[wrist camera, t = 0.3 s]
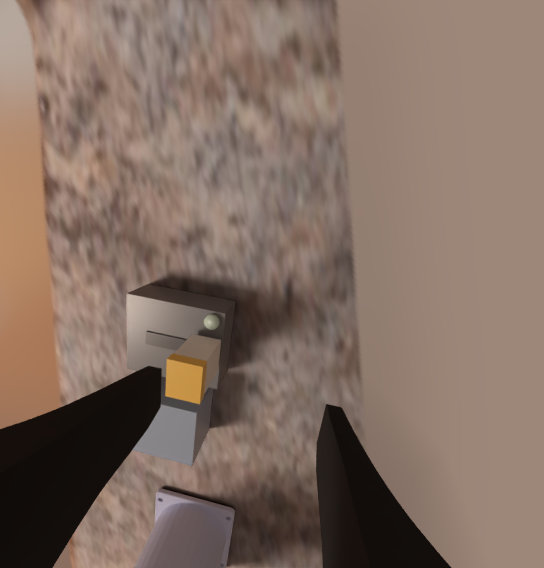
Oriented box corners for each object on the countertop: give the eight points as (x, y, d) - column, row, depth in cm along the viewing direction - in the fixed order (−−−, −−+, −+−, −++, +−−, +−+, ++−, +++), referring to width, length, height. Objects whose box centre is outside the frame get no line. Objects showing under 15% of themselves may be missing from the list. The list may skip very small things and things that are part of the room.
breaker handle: (218, 371, 18) (199, 404, 15) (189, 365, 18) (165, 396, 15) (222, 339, 17) (203, 367, 14) (192, 333, 17) (166, 358, 14)
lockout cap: (209, 428, 23) (192, 465, 20) (156, 416, 23) (131, 449, 20) (214, 381, 22) (196, 413, 18) (158, 369, 22) (130, 397, 19)
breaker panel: (227, 369, 21) (215, 392, 18) (147, 351, 22) (124, 370, 19) (235, 301, 19) (223, 315, 17) (148, 284, 20) (123, 294, 17)
